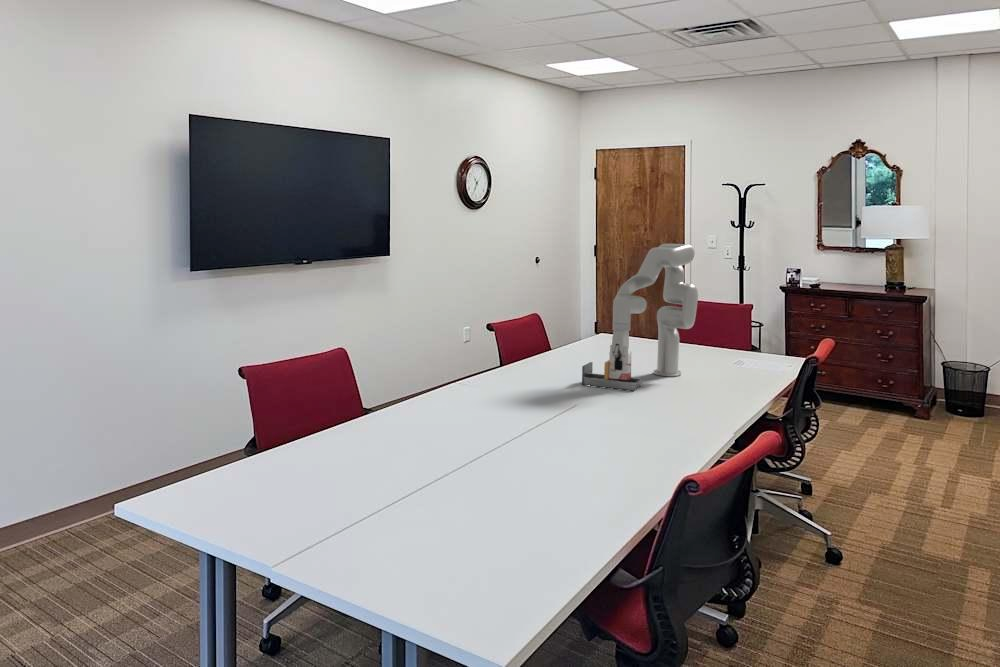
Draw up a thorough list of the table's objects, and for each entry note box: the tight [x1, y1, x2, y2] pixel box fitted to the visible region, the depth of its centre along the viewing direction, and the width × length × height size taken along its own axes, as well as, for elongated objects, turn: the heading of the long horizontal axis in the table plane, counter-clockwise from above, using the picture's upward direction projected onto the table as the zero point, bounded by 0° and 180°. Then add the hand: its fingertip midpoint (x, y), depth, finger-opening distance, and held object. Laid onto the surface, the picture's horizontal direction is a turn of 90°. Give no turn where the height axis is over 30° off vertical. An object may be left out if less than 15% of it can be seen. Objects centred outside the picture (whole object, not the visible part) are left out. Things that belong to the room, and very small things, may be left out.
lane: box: [581, 361, 641, 392], centre depth 321 cm, size 10×23×8 cm, turn 63°
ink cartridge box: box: [608, 344, 632, 380], centre depth 319 cm, size 9×5×15 cm, turn 63°
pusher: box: [603, 359, 613, 380], centre depth 322 cm, size 7×2×10 cm, turn 153°
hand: (620, 368), depth 319 cm, fingers closed on ink cartridge box, 5 cm apart
